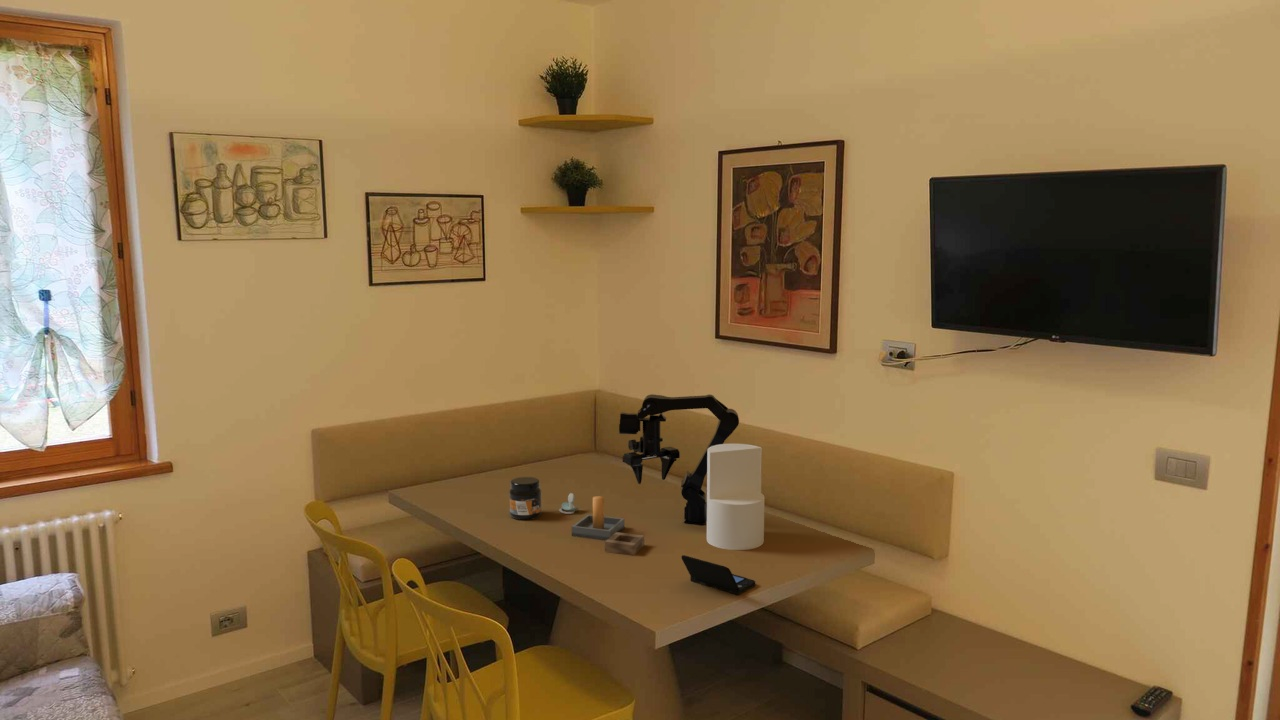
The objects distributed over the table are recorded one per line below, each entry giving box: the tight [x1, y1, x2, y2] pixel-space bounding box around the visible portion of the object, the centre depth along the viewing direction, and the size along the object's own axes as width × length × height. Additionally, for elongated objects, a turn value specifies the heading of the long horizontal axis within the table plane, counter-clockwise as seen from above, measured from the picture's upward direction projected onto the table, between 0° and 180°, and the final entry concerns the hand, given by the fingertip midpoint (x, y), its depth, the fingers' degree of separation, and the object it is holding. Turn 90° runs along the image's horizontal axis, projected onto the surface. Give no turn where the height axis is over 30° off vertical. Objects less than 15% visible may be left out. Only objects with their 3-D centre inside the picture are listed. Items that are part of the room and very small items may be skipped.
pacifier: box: [558, 492, 581, 515], centre depth 297 cm, size 7×6×6 cm
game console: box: [681, 555, 756, 596], centre depth 233 cm, size 16×14×9 cm
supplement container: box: [508, 476, 542, 521], centre depth 292 cm, size 10×10×12 cm
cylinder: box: [706, 443, 765, 551], centre depth 267 cm, size 17×17×28 cm
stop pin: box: [592, 495, 605, 529], centre depth 276 cm, size 4×4×10 cm
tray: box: [571, 514, 625, 541], centre depth 276 cm, size 13×13×3 cm
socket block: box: [604, 532, 645, 556], centre depth 262 cm, size 9×9×3 cm
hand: (651, 481), depth 286 cm, fingers open, 9 cm apart
